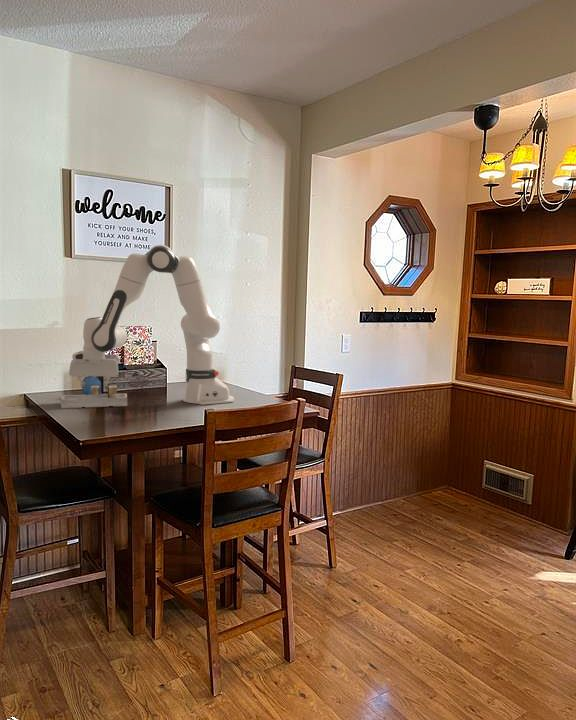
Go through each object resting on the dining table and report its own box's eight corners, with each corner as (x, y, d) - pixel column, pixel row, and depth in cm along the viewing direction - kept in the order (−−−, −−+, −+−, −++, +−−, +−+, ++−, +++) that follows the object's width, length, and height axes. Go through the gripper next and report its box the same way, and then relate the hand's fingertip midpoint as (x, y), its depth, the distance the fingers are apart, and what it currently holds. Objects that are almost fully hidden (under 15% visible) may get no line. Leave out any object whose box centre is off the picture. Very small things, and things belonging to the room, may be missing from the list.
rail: (126, 401, 250) (126, 393, 250) (127, 405, 241) (127, 397, 240) (63, 403, 243) (62, 395, 242) (61, 408, 233) (60, 399, 233)
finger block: (100, 399, 253) (99, 385, 252) (99, 401, 248) (99, 387, 248) (91, 399, 252) (91, 385, 251) (91, 401, 247) (91, 388, 247)
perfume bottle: (101, 396, 259) (100, 370, 257) (87, 397, 255) (87, 371, 253) (95, 394, 264) (94, 368, 262) (82, 395, 259) (81, 369, 258)
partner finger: (108, 401, 241) (107, 387, 240) (108, 399, 245) (107, 385, 245) (116, 401, 242) (116, 387, 241) (116, 399, 246) (116, 385, 246)
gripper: (119, 353, 253) (119, 384, 255) (69, 353, 247) (69, 385, 249) (119, 355, 247) (119, 387, 249) (68, 355, 241) (69, 388, 243)
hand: (94, 386), depth 249 cm, fingers open, 8 cm apart
